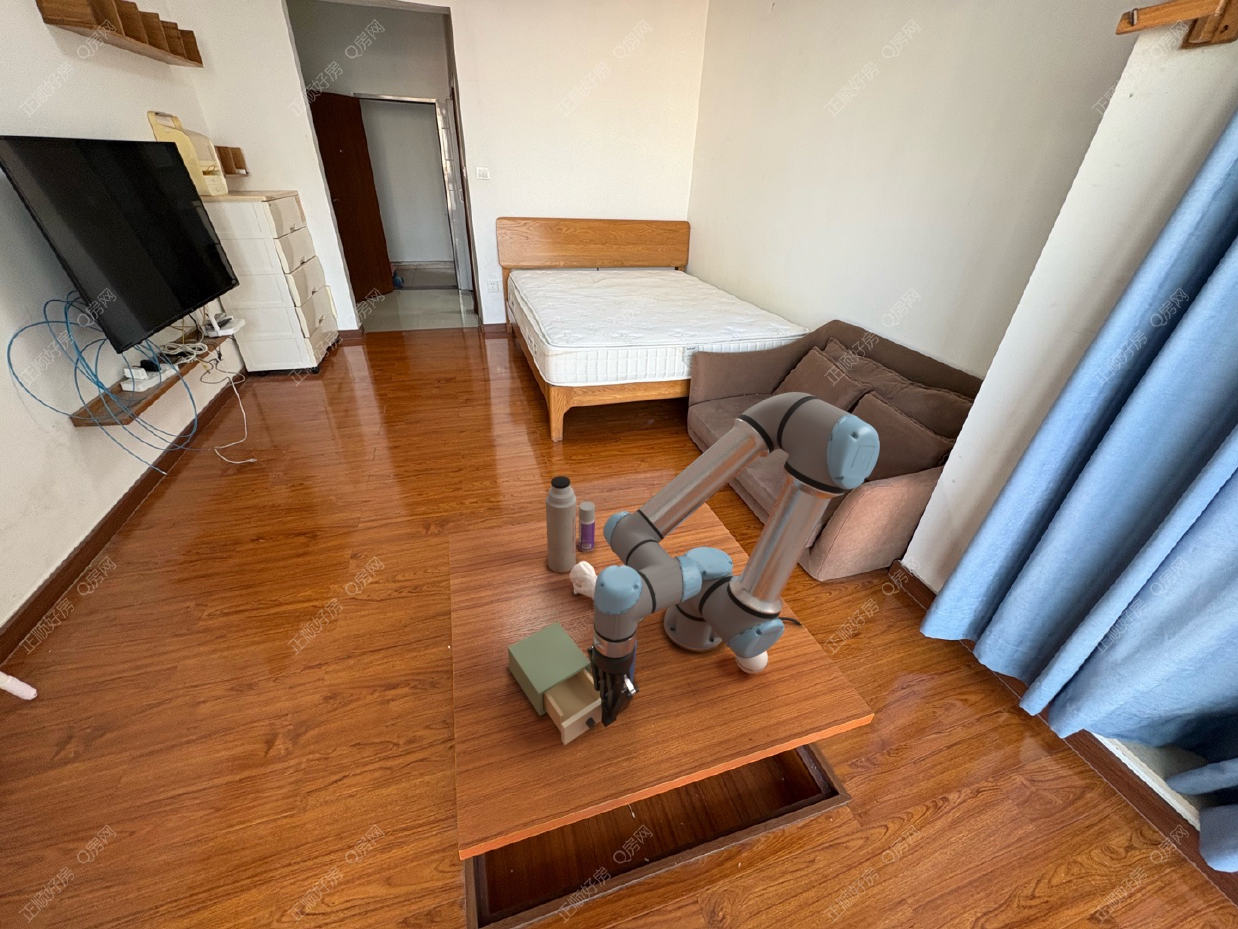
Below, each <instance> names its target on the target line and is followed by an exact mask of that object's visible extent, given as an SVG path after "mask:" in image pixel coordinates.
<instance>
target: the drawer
mask: <svg viewBox="0 0 1238 929" xmlns="http://www.w3.org/2000/svg"><path fill="white" fill-rule="evenodd" d="M542 696H543V707H544V708H545V710H546V711H547V712H546V713H547V715H548V716H549V717H550V719H551V720H552V721H553V723H554V725H555V726H556V728H557V729H558V731H559V732H560V737H561V738H560V739H561V740H560V741H561V743H562V744H563V746H566V745H567V744H569V743H570V742H572V741H574V740H575V739H576V738H577V737H580V736H581V735H583V734H584V733H585V732H586V731H589V730H590V729H592V728H594V727H595V726H596V724H598V723H599V722H601V718H602V706H601V698H600V692H599V691H598V692H597V691H596V690H595V688H594V682H593V675H592V674H591V675H590V674H589V672H588V671H587V670H586V669H583V670H581V671H580V672H578V673H576V674H575V675H573V676H572V677H570V678H568V679H567V680H565V681H563V682H562V683H560V684H558V685H557V686H555V687H553V688H552V689H550V690H548V691H547V692H545V693H543V694H542Z"/></svg>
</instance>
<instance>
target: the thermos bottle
mask: <svg viewBox="0 0 1238 929" xmlns="http://www.w3.org/2000/svg"><path fill="white" fill-rule="evenodd" d="M550 486H551V487H550V488H549V489H548V493H547V495H546V497H545V517H546V518H545V519H546V539H547V541H546V542H547V546H546V547H547V548H546V552H547V554H546V555H547V566H548V567H549V569H550V570H552V571H554V572H557V573H566V572H571V570H572V568H573V567H574V566H575V565H576V564H577V496H576V495H575V491H574V489H573V488H572V487H571V479H570V478H569V477H567V476H565V475H564V476H563V475H558V476H554V477H553V478H551V481H550Z"/></svg>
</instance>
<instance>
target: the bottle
mask: <svg viewBox="0 0 1238 929" xmlns="http://www.w3.org/2000/svg"><path fill="white" fill-rule="evenodd" d="M637 647H638V640H637V639H636V644H635V653H634V660H633V663H632V665H631V667H630V669H629V671H630V675H631V678H630V682H631V684H633V685H634V675H635V668H636V666H635V665H636V659H637V658H636V656H637ZM623 687H624V684H623ZM623 689H624V688H623ZM623 689H622V690H623Z"/></svg>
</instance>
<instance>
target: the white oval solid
mask: <svg viewBox="0 0 1238 929" xmlns="http://www.w3.org/2000/svg"><path fill="white" fill-rule="evenodd" d="M734 659H735V662H736V664H737V666H738V667H739V669H740V670H741V671H743V672H745V673H747V674H750V675H755V674H759V673H761V672H763V671H764V670H765V671H767V672H768V673H770V674H772V675H773V673H772V672H770V671H769V670H767V669H766V667H767V666H768V664H769V654H768V652H767V650H766V651H765V652H763V653H762V654H760V655H758V656H755V657H753V658H748V659H744V658H740V657H738V656H737V655H736V654H735V653H734Z"/></svg>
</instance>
